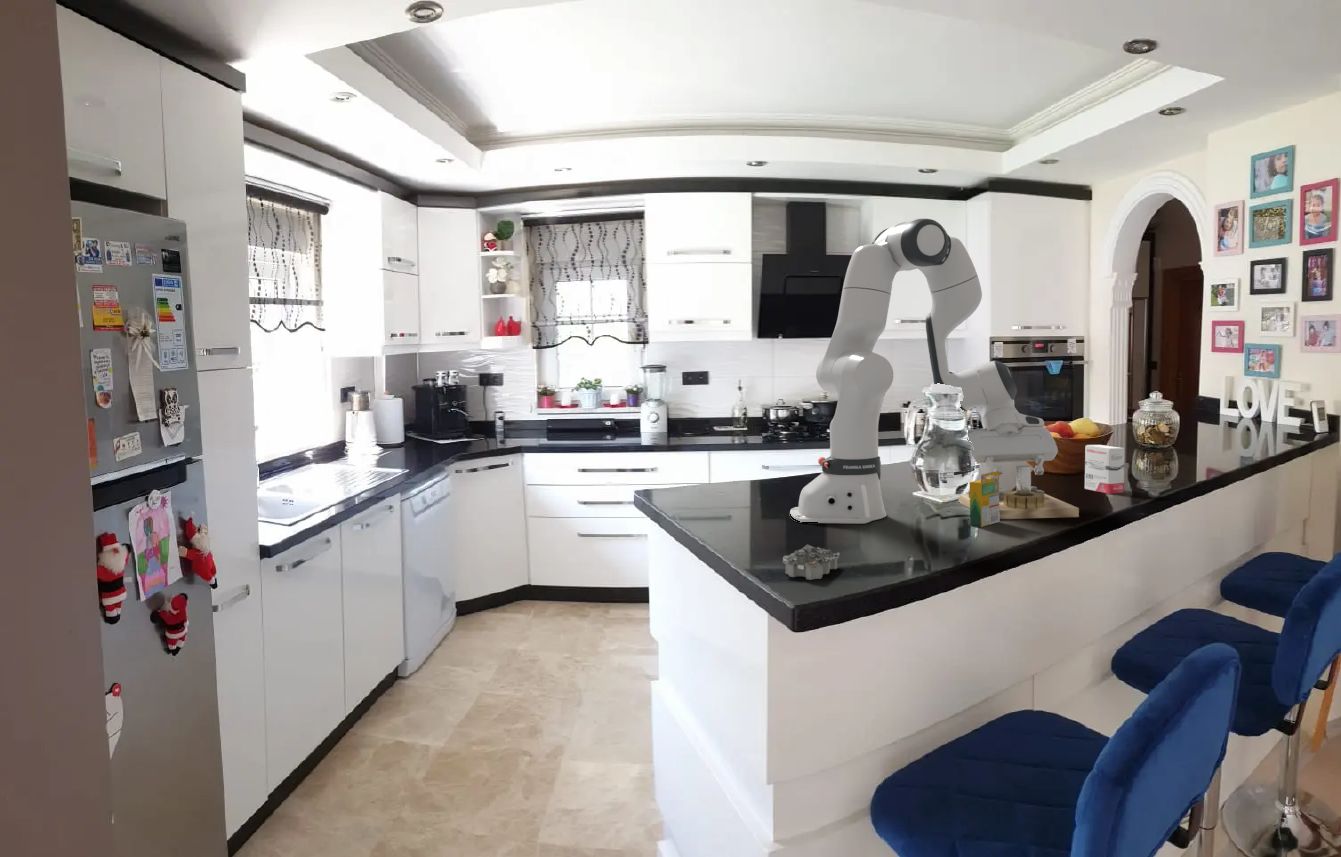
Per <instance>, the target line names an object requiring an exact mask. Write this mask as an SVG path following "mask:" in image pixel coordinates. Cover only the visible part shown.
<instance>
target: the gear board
mask: <svg viewBox="0 0 1341 857" xmlns="http://www.w3.org/2000/svg"><path fill="white" fill-rule="evenodd" d="M964 494H965V495H962V496H960V497H959V496H958V503H959V502H960V503H959V504H961V505H963V506H964V507H966V508H968V510H970V491H968V493H964ZM999 512H1000V520H1014V519H1015V520H1016V519H1023V520H1024V519H1048V518H1049V519H1052V518H1053V519H1055V518H1056V519H1057V518H1059V519H1060V518H1079V517H1080V515H1079V513H1080V508H1079V507H1077V506H1074V505H1072V504H1070V503H1068V502H1065V501H1063V500H1060V499H1058V498H1055V496H1054V497H1053V496H1051V495H1049V494H1046V493H1045V490H1042V489H1038V487H1037V486H1034V485H1033V486H1032V485H1031V496H1017V495H1016V490H1010V489H1009V490H1007V489H1003V488H1000V487H999Z"/></svg>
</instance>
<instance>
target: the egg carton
mask: <svg viewBox="0 0 1341 857" xmlns="http://www.w3.org/2000/svg"><path fill="white" fill-rule="evenodd" d="M840 554H841V553H840V552H838V551H837V552H836V553H834V552H832V550H831V549H826V548H820V547H819V546H817V547H814V546H812V545H810V544H808V543H806V545H804V546H803V547H802V548H801V549H797V550H795V551H794V552H793V553H792V552H791V553H790V554H788V555H784V556H783V557H782V564H785V574H786V575H788V576H789V577H791V578H796V577H804V578H805V580H810V581H811V580H820V579H822V578H823V576H824V575H828V574H830V570H837V569H838V563H837V562H838V559H840Z"/></svg>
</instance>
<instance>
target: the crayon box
mask: <svg viewBox="0 0 1341 857" xmlns="http://www.w3.org/2000/svg"><path fill="white" fill-rule="evenodd" d="M989 476H993V477H989ZM999 488H1000V476H999V471H995V472H993V471H991V472H987V473H982V474H980V479H978V480H973V481H970V482H969V492H970V509H969V520H970V521H969V525H970V527H977V528H984V527H987V526H990V525H993V524H997V523H1000V522H1001V521H1000V520H1001V519H1000V512H999Z"/></svg>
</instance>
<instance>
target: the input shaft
mask: <svg viewBox="0 0 1341 857" xmlns="http://www.w3.org/2000/svg"><path fill="white" fill-rule="evenodd" d="M1015 475H1016V476H1015V477H1016V479H1015V480H1016V485H1015V486H1016V490H1015V491H1016V495H1017V496H1031V486H1032V466H1031V465H1017V466H1016V474H1015Z"/></svg>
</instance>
